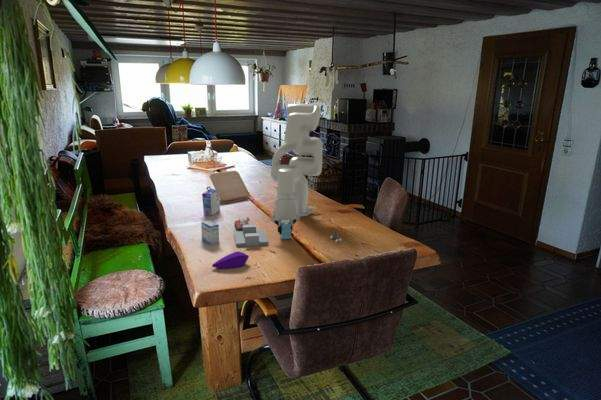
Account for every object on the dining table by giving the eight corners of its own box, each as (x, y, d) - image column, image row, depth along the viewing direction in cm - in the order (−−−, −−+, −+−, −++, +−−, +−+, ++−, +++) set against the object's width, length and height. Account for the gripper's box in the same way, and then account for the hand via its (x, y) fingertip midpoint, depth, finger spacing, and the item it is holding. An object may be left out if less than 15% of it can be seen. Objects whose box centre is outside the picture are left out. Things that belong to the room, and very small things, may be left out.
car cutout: (325, 239, 188) (325, 230, 187) (337, 237, 191) (338, 228, 190) (342, 251, 175) (343, 241, 174) (355, 248, 178) (356, 239, 177)
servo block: (287, 232, 193) (287, 217, 191) (291, 240, 183) (291, 224, 181) (278, 232, 192) (279, 217, 190) (282, 241, 182) (283, 225, 180)
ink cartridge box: (211, 209, 225) (210, 184, 220) (220, 210, 223) (219, 185, 219) (202, 214, 215) (201, 188, 211) (211, 216, 214) (211, 189, 210)
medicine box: (201, 239, 182) (200, 221, 180) (210, 237, 185) (209, 219, 183) (211, 244, 177) (210, 226, 174) (219, 242, 180) (219, 224, 177)
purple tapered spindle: (209, 258, 155) (246, 248, 161) (211, 269, 156) (247, 259, 162) (212, 263, 151) (250, 252, 157) (214, 274, 152) (251, 264, 158)
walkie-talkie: (255, 233, 192) (249, 220, 210) (255, 225, 191) (249, 212, 209) (236, 235, 190) (232, 221, 208) (236, 226, 188) (232, 213, 207)
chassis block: (263, 232, 192) (263, 223, 191) (268, 244, 178) (268, 235, 177) (234, 234, 189) (234, 225, 188) (236, 246, 175) (236, 237, 174)
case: (221, 205, 234) (220, 178, 229) (204, 196, 249) (203, 171, 245) (250, 200, 246) (250, 174, 242) (233, 192, 262) (233, 168, 257)
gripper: (301, 192, 187) (300, 229, 192) (266, 194, 183) (266, 231, 189) (305, 197, 180) (304, 235, 185) (268, 198, 176) (268, 237, 182)
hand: (285, 232), depth 187 cm, fingers closed on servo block, 4 cm apart
